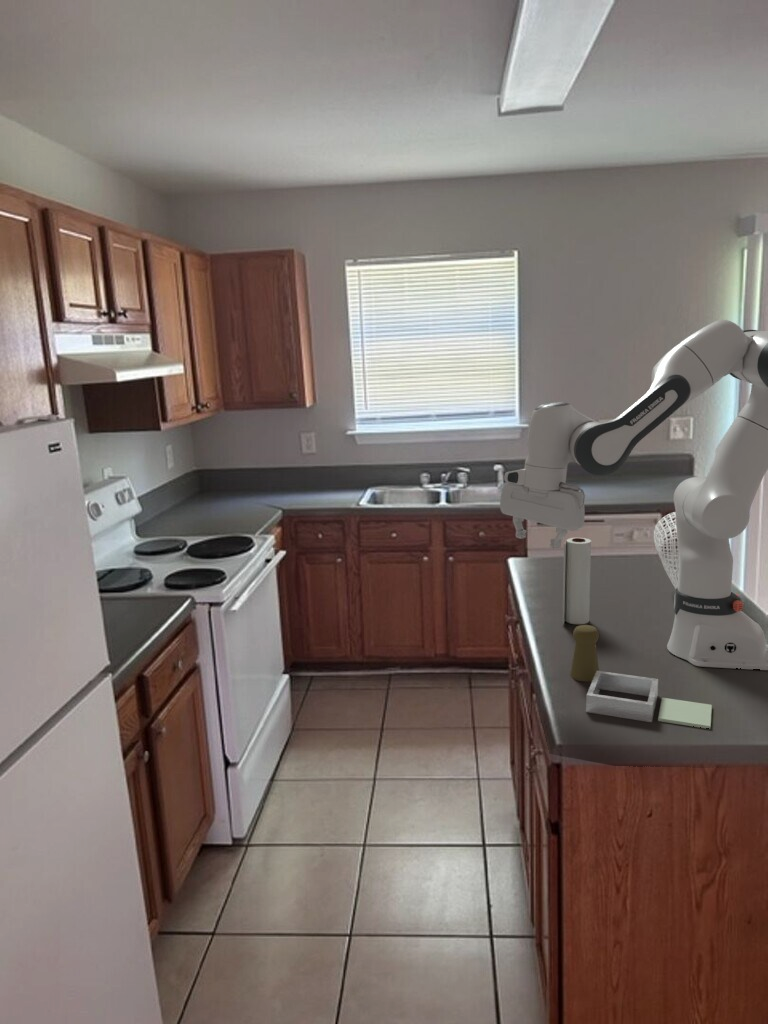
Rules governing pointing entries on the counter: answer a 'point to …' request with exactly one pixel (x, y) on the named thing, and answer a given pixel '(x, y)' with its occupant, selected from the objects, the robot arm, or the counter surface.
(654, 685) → the frame
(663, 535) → the heart
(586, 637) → the olive green rounded piece
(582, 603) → the paper towel roll
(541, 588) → the counter surface
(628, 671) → the counter surface
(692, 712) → the green pad
